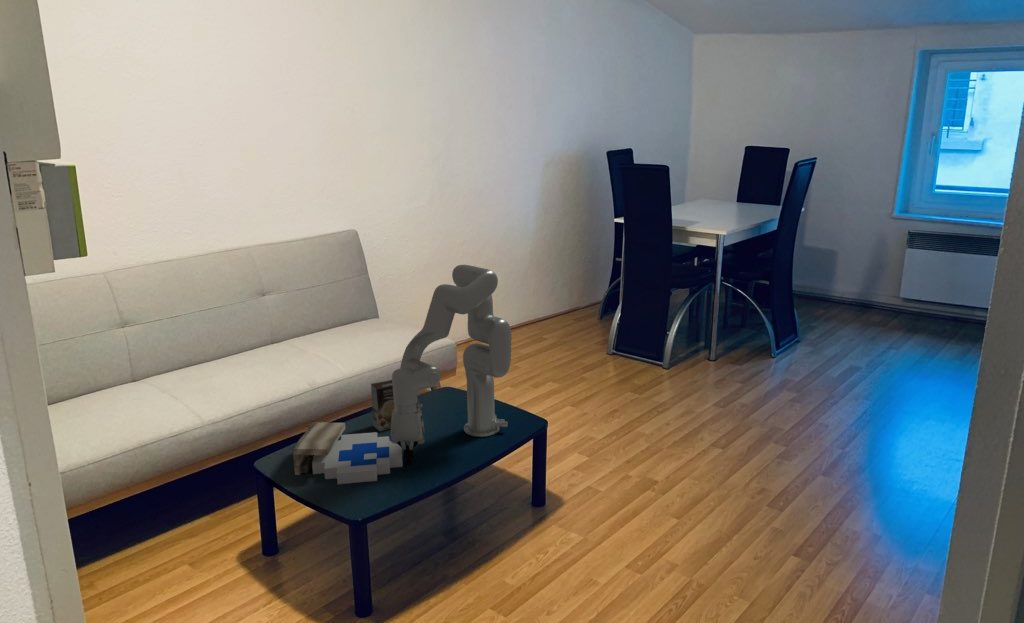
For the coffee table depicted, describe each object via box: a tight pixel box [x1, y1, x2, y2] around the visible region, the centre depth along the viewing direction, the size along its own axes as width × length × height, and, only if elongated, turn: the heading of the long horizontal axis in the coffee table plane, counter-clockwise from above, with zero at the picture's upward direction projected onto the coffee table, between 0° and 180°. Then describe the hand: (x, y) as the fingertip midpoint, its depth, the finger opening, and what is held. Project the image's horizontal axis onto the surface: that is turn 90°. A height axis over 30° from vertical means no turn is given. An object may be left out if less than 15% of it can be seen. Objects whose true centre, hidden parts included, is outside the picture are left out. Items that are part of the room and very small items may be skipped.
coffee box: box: [370, 379, 394, 432], centre depth 280 cm, size 9×6×16 cm
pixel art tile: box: [311, 431, 404, 485], centre depth 255 cm, size 28×4×28 cm
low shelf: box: [292, 421, 346, 476], centre depth 255 cm, size 11×20×9 cm, turn 176°
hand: (409, 459), depth 254 cm, fingers closed
